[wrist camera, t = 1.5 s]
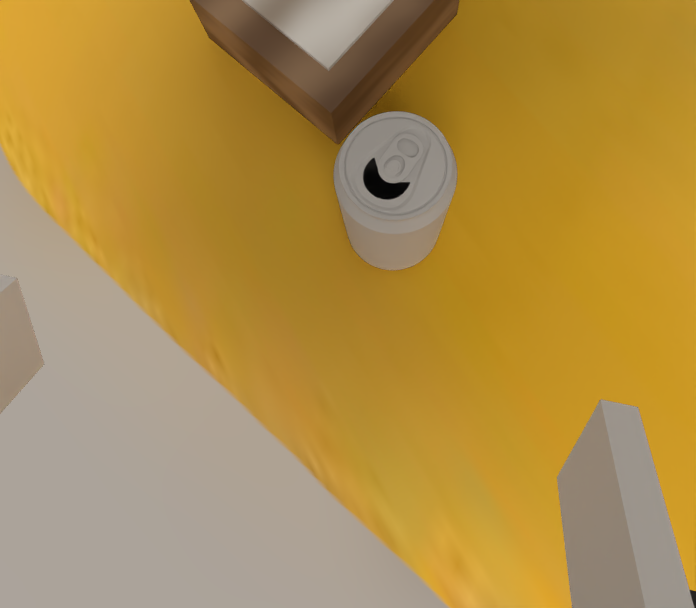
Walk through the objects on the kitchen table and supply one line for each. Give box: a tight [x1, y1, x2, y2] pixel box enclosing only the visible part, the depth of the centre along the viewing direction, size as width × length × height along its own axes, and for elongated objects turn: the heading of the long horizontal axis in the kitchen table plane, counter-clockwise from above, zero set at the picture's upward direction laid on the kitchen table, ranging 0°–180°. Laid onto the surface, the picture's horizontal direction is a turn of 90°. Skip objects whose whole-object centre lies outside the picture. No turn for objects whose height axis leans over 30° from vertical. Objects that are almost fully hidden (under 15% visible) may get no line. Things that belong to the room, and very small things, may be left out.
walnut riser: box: [190, 0, 459, 144], centre depth 40 cm, size 13×13×5 cm
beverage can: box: [334, 111, 457, 270], centre depth 34 cm, size 6×6×12 cm
